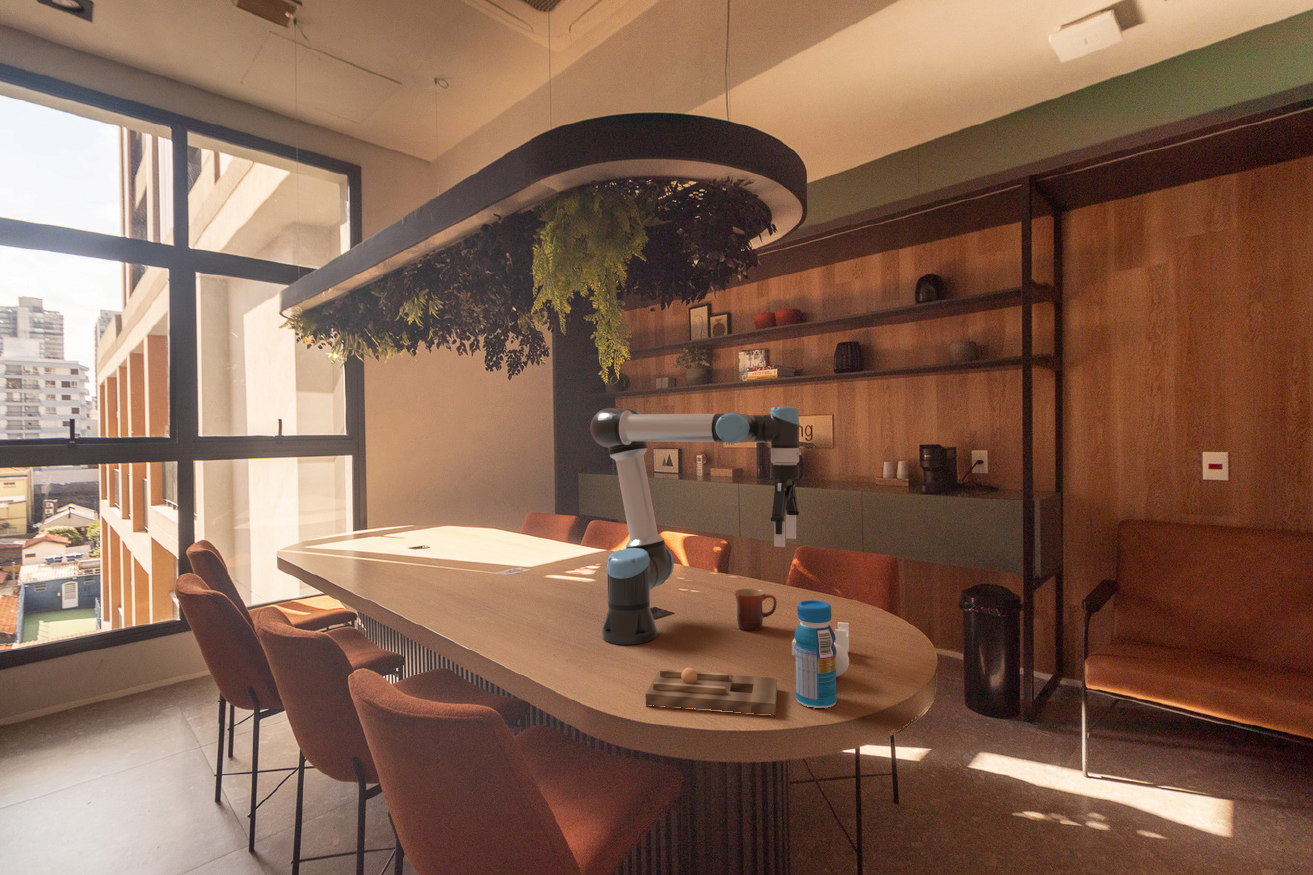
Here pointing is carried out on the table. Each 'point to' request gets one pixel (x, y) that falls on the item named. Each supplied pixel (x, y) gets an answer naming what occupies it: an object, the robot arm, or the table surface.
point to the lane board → (714, 692)
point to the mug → (752, 608)
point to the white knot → (841, 660)
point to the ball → (689, 676)
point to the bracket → (837, 637)
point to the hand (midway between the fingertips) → (785, 542)
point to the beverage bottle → (815, 655)
